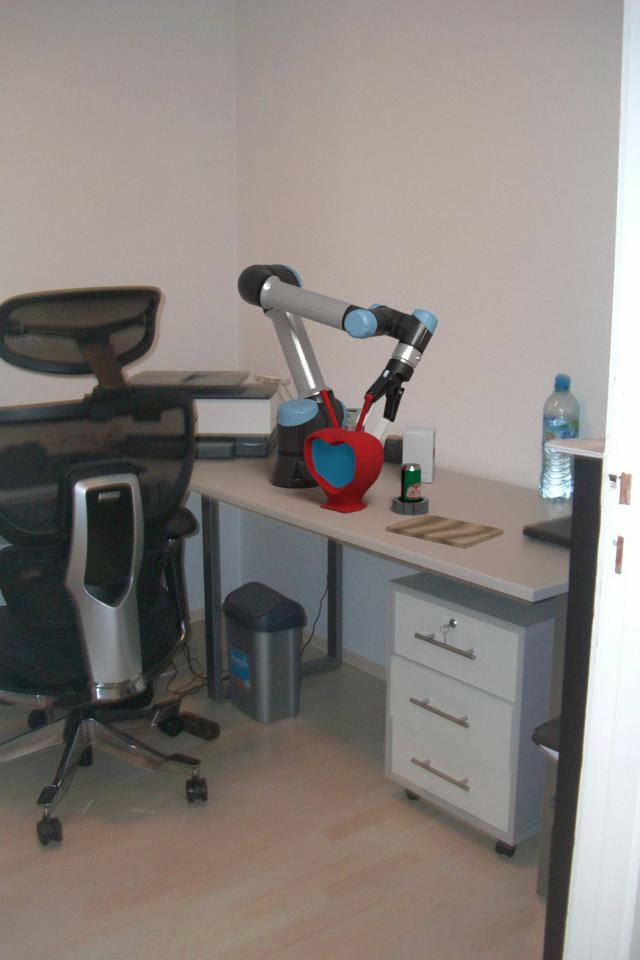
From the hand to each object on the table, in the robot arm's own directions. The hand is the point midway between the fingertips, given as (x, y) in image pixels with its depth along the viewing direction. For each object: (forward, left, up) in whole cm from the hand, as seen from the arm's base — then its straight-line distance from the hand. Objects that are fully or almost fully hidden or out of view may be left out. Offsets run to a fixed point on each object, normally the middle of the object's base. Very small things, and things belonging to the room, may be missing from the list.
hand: (367, 432), depth 258 cm
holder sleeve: (+21, -8, -17) cm, 28 cm away
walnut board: (+39, -19, -17) cm, 46 cm away
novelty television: (+6, -16, -17) cm, 24 cm away
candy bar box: (-35, +33, -17) cm, 51 cm away
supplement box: (+1, +23, -17) cm, 29 cm away
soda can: (+21, -8, -17) cm, 28 cm away
